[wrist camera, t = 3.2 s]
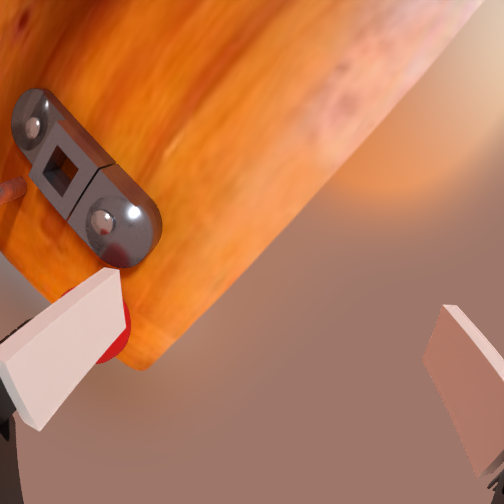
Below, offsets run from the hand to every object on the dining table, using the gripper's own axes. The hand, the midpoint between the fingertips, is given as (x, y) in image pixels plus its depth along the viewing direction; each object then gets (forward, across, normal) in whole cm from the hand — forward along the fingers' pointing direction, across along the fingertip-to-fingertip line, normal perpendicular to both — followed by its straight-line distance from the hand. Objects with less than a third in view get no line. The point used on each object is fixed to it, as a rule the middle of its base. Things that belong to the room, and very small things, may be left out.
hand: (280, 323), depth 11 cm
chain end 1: (+23, -31, +8) cm, 39 cm away
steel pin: (+23, -41, +2) cm, 47 cm away
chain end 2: (+23, -23, +1) cm, 33 cm away
